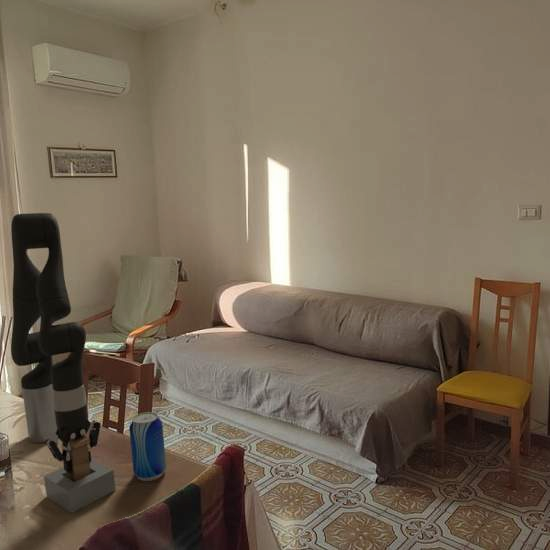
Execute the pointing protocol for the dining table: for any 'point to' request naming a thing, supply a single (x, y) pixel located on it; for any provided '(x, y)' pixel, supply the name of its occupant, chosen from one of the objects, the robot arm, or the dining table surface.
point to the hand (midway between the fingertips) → (78, 468)
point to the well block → (79, 486)
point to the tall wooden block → (79, 459)
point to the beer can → (147, 446)
